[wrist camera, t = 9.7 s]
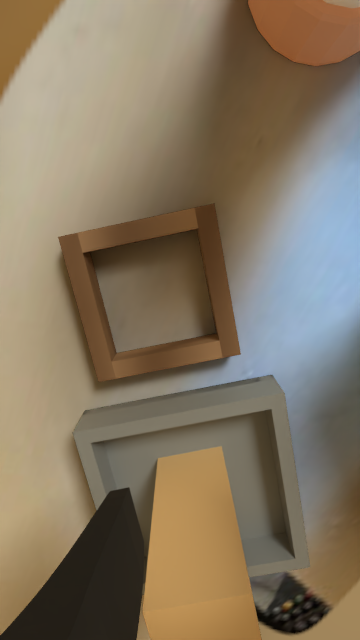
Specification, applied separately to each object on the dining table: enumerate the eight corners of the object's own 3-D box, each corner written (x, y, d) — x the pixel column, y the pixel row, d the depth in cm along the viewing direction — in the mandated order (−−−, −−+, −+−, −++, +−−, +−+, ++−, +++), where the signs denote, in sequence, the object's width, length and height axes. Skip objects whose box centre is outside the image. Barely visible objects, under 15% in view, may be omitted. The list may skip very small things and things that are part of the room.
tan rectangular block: (221, 446, 21) (251, 593, 12) (233, 500, 22) (269, 675, 13) (157, 458, 21) (142, 612, 12) (171, 512, 22) (166, 691, 13)
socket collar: (211, 206, 18) (214, 203, 17) (236, 346, 20) (240, 354, 19) (67, 237, 19) (58, 237, 17) (104, 372, 20) (98, 382, 19)
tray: (271, 374, 21) (284, 392, 18) (296, 532, 23) (310, 567, 21) (84, 410, 21) (72, 432, 19) (129, 561, 24) (123, 598, 21)
